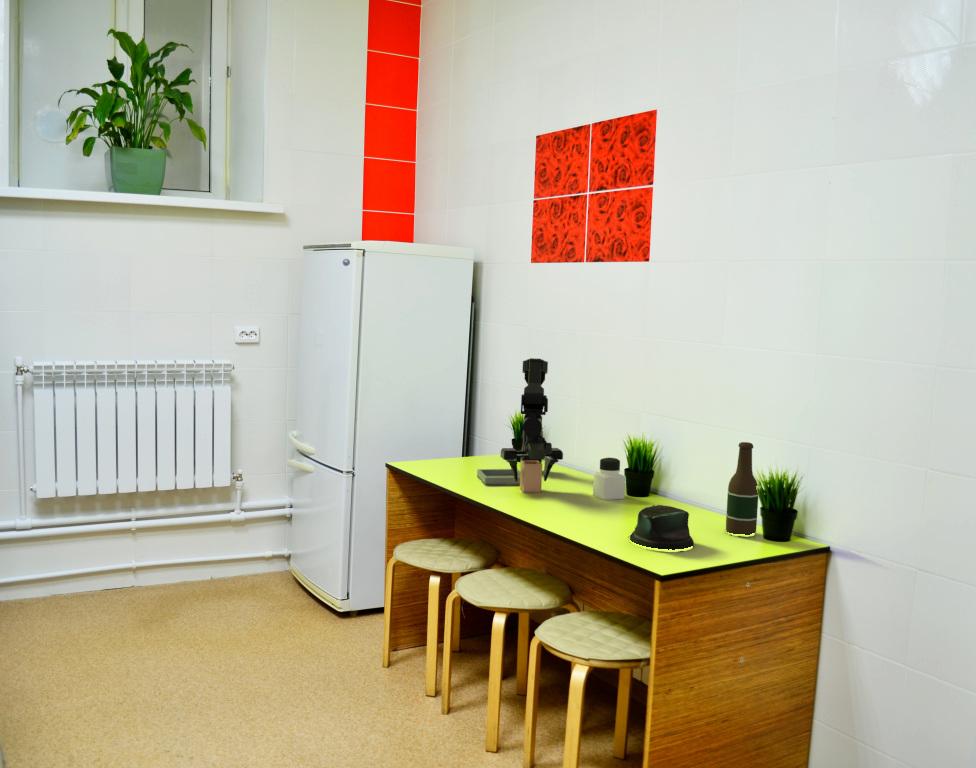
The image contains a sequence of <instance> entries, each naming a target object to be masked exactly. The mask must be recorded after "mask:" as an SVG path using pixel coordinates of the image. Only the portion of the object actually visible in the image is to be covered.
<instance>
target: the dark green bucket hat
mask: <svg viewBox="0 0 976 768" xmlns="http://www.w3.org/2000/svg"><path fill="white" fill-rule="evenodd" d="M689 517H690V514H689V511H687V510H684V509H682V508H678V507H675V506H671V505H663V504H657V505H655V504H653V505H651V506H646V507H643V508H642V509H641V510H640V511H638V514H637V521H636V525H635V527H634V530H633V531H632V532H631V533H632V534H631V535H630V537H629V539H630V540H631V541H632V542H634V543H636V544H639V545H642V546H646V547H651V548H658V549H668V550H669V549H672V550H675V549H684V548H688V547H691V546H693V545H694V544H695V542H694V539H693V537H692V536H691V535H690V533H691V532H690V528H689ZM694 546H695V545H694Z"/></svg>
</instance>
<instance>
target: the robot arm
mask: <svg viewBox="0 0 976 768" xmlns="http://www.w3.org/2000/svg"><path fill="white" fill-rule="evenodd" d="M548 366H549V361H547V360H545V359H541V358H532V357H531V358H528V359H526V360H522V373H523V374H524V381H525V383H526V384H527V385H526V386H525V387H524V388H523V394H521V397H520V398H521V399H520V401H521V403H520V415H524V416H523V423H522V436H520V442H519V443H520V444H519V446H520V449H519V450H516V449H515V448H514V447H502V448H501V449H500V458H502V460H505V461H506V462H507V463H508V464H509V465H510V469H512V472H513V475H514V478H515V481H516V482H517V479H518V474H517V469H518V460H517V458H520V462H521V461H539V462H540V463H542V464H543V460H544V469H543V470H542V473H543V481H544V482H547V480H548V477H549V475H550V472H551V469H552V468H553V466H554V465H555V464H556V463H559V461H560V460H563V459H564V452H563V451H562V450H561V449H559V448H558V447H552V446H553V445H552V442H547V441H546V439H545V437H544V431H543V416H546V414H547V413H548V411H549V409H548V408H549V405H548V404H549V398H548V396H547V395H546V394H545V389H544V388H543V384H544V382H545V380H546V375H548V372H549V371H548ZM520 468H521V464H520Z"/></svg>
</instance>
